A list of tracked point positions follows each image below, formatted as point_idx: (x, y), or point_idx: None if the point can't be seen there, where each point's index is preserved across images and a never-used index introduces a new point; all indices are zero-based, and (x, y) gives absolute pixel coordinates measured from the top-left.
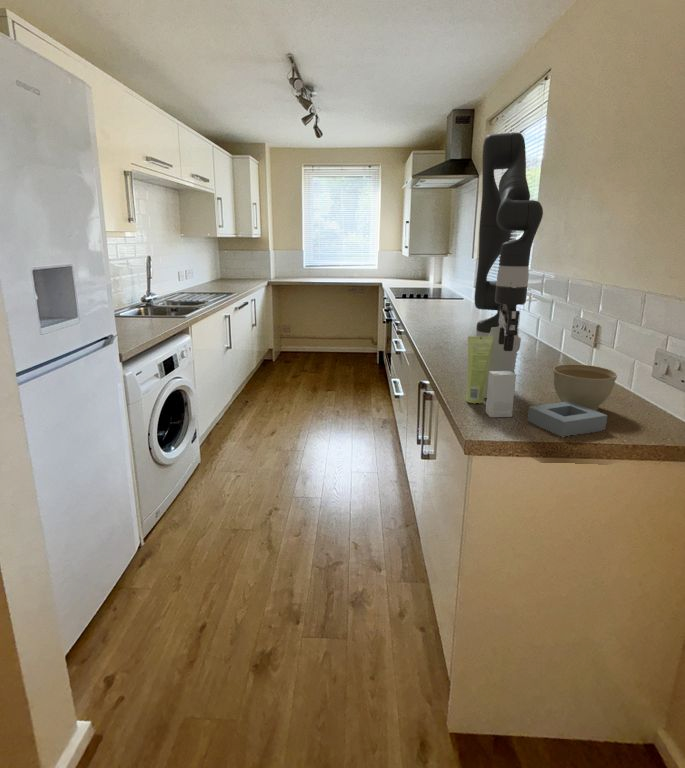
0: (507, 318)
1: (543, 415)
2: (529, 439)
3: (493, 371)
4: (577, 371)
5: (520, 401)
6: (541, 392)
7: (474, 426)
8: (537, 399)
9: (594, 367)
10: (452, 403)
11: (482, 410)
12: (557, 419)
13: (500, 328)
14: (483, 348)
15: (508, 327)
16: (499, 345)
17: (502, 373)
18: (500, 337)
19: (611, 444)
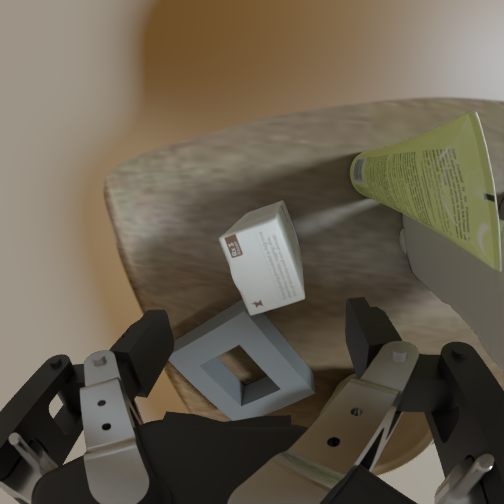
0: (15, 426)
1: (206, 331)
2: (143, 283)
3: (273, 236)
4: (427, 427)
5: (394, 292)
6: (453, 336)
7: (174, 174)
8: (410, 328)
9: (414, 455)
10: (338, 113)
11: (301, 192)
12: (177, 350)
13: (376, 359)
14: (447, 206)
15: (30, 386)
16: (491, 287)
17: (247, 269)
18: (354, 324)
19: (179, 394)
